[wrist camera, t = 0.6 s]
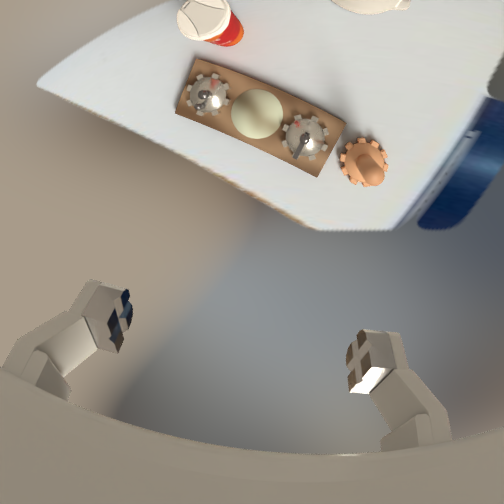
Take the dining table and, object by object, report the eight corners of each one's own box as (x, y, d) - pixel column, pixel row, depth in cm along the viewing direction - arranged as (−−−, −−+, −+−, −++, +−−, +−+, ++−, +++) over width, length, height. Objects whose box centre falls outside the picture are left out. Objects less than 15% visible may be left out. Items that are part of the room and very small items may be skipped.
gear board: (199, 59, 44) (196, 58, 43) (345, 122, 45) (346, 123, 44) (178, 112, 50) (174, 113, 48) (316, 175, 51) (316, 177, 50)
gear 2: (294, 106, 44) (292, 106, 41) (336, 127, 45) (338, 130, 42) (274, 146, 48) (271, 150, 45) (315, 167, 49) (315, 172, 46)
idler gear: (354, 128, 45) (363, 135, 37) (394, 153, 46) (411, 166, 37) (331, 169, 50) (335, 185, 41) (371, 192, 50) (382, 212, 42)
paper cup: (198, 36, 42) (163, 21, 30) (227, 7, 38) (199, -18, 26) (229, 60, 43) (201, 49, 31) (259, 31, 40) (241, 9, 28)
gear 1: (198, 67, 44) (189, 66, 40) (238, 82, 44) (233, 81, 41) (182, 107, 48) (173, 108, 44) (221, 122, 48) (214, 124, 45)
